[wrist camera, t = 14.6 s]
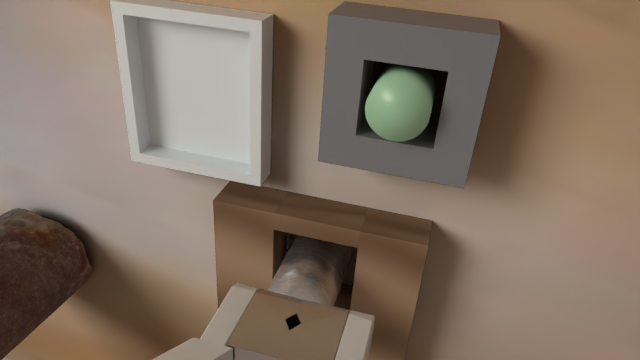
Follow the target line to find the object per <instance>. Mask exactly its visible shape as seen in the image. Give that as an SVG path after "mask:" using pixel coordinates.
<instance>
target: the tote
mask: <svg viewBox="0 0 640 360" xmlns="http://www.w3.org/2000/svg"><path fill="white" fill-rule="evenodd" d="M110 3H111V10H112V17H113V25H114V32H115V40H116V47H117V55H118V62H119V70H120V77H121V85H122V92H123V100H124V107H125V115H126V122H127V130H128V137H129V145H130V152H131V160H132V161H136V162H141V163H146V164H150V165H155V166H160V167H165V168H170V169H175V170H180V171H185V172H190V173H195V174H200V175H205V176H210V177H215V178H220V179H225V180H230V181H235V182H240V183H245V184H250V185H255V186H260V187H261V185H262V184H263V183H264V181H265V180H266V179H267V177H268V176H269V175H270V170H271V118H272V67H273V16H274V14H269V13H261V12H253V11H246V10H238V9H230V8H223V7H215V6H207V5H200V4H192V3H184V2H177V1H169V0H111V1H110Z"/></svg>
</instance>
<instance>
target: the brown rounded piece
mask: <svg viewBox="0 0 640 360" xmlns="http://www.w3.org/2000/svg"><path fill="white" fill-rule="evenodd" d="M92 270H93V269H92V266H91V265H90V264H89V259H88V258H87V255H86V252H85V249H84V246H83V243H82V242H81V240H80V239H78V238H77V237H76V236H75V234H74V233H73V232H72V231H70V230H69V229H67V228H64V227H63V226H62V224H60V223H59V222H56V221H54V220H51V219H47V218H45V217H42V216H40V215H38V214H36V213H33V212H31V211H28V210H25V209H13V210H11V211H8V212H6V213H4V214H3V215H1V216H0V360H2V359H3V358H4V357H5V356H6V355H7V354H8V353H9V352H10V351H11V350H13V349H14V348H15V347H16V346H17V345H18V344H19V343H20V342H22V341H23V340H24V339H25V338H26V337H27V336H28V335H29V334H30V333H31V332H32V331H33V330H35V329H36V328H37V327H38V326H39V325H40V324H41V323H42V322H43V321H44V320H45V319H47V318H48V317H49V316H50V315H51V314H52V313H53V312H54V311H55V310H56V309H57V308H59V307H60V306H61V305H62V304H63V303H64V302H65V301H66V300H67V299H68V298H69V297H70V296H71V295H72V294H73V293H74V292H75V291H76V290H78V289H79V288H80V287H81V286H82V285H83V284H84V283H85V282H86V281H87V280H88V279H89V277H90V276H91V273H92Z"/></svg>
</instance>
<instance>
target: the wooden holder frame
mask: <svg viewBox="0 0 640 360" xmlns="http://www.w3.org/2000/svg"><path fill="white" fill-rule="evenodd" d="M213 208H214V230H215V252H216V274H217V296H218V308H219V307H220V305H221V303H222V302H223V300H224V298H225V297H226V295H227V294H228V292H229V290H230V289H231V287H232V286H234V285H235V284H236V283H240V284H244V285H248V286H251V287H255V288H261V289H265V290H267V289H268V287H269V285H270V284H271V282H272V280H273V278H274V276H275V274H276V273H277V271H278V269H279V267H280V265H281V263H282V261H283V260H284V258H285V252H286V232H287V233H291V234H296V235H300V236H305V237H310V238H314V239H319V240H323V241H328V242H333V243H337V244H342V245H346V246H351V247H356V248H358V251H357V259H356V267H355V275H354V283H353V286H351V285H347V284H342V285H341V288H340V291H339V294H338V296H337V299H336V302H335V305H334V307H339V308H343V309H347V310H350V311H351V310H352V311H356V312H360V313H365V314H369V315H374V316H375V322H374V328H373V334H372V340H371V346H370V352H369V357H368V360H404V359H405V354H406V350H407V345H408V340H409V336H410V331H411V326H412V322H413V317H414V312H415V307H416V303H417V298H418V293H419V289H420V284H421V279H422V275H423V270H424V265H425V261H426V256H427V251H428V247H429V240H430V233H431V227H432V221H431V220H426V219H421V218H416V217H411V216H406V215H401V214H396V213H391V212H386V211H381V210H376V209H371V208H366V207H361V206H356V205H351V204H346V203H341V202H336V201H331V200H326V199H321V198H316V197H312V196H307V195H302V194H297V193H292V192H287V191H282V190H277V189H272V188H267V187H262V186H261V187H260V186H255V185H250V184H245V183H240V182H235V181H230V182H229V183H228V184H227V185H226V186H225V187H224V189H223V190H222V191H221V192H220V193H219V194H218V195H217V197H216V198H215V199H214V200H213Z"/></svg>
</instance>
